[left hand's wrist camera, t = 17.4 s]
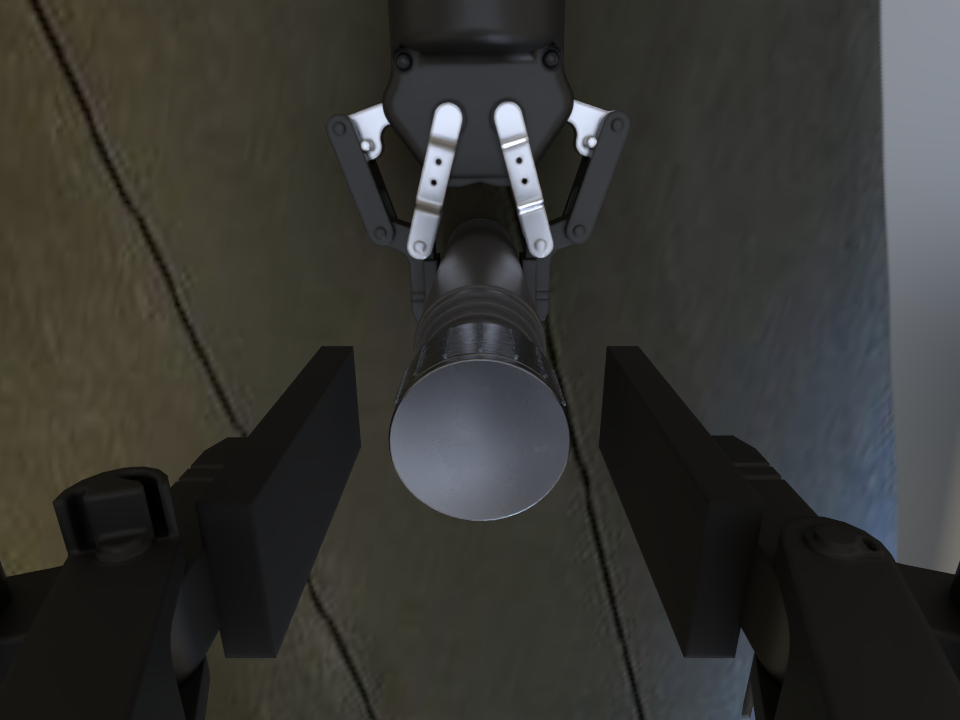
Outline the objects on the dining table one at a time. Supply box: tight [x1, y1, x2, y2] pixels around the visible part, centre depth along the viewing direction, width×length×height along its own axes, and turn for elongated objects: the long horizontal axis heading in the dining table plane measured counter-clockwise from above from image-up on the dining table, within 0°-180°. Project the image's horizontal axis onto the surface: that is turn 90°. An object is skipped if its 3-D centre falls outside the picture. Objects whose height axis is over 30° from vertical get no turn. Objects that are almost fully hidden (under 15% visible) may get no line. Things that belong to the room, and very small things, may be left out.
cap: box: [389, 322, 571, 521], centre depth 13 cm, size 4×4×3 cm
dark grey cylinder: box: [414, 218, 546, 357], centre depth 24 cm, size 4×4×24 cm
